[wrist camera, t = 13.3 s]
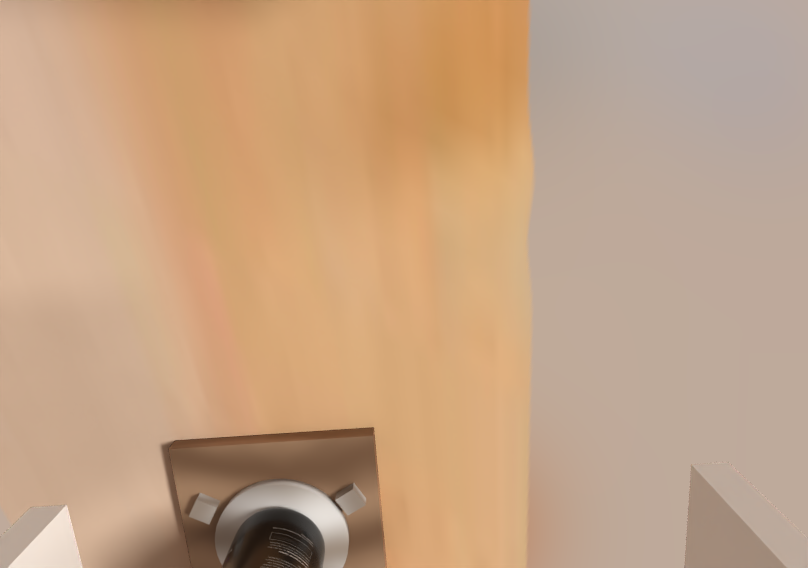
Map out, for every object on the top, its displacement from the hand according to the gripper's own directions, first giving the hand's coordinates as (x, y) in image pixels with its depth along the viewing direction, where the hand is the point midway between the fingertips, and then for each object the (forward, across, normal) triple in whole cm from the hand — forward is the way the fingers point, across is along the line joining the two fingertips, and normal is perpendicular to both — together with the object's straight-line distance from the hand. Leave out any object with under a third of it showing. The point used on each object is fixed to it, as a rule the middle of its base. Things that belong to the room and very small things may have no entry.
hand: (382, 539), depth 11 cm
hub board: (+27, -10, -20) cm, 35 cm away
